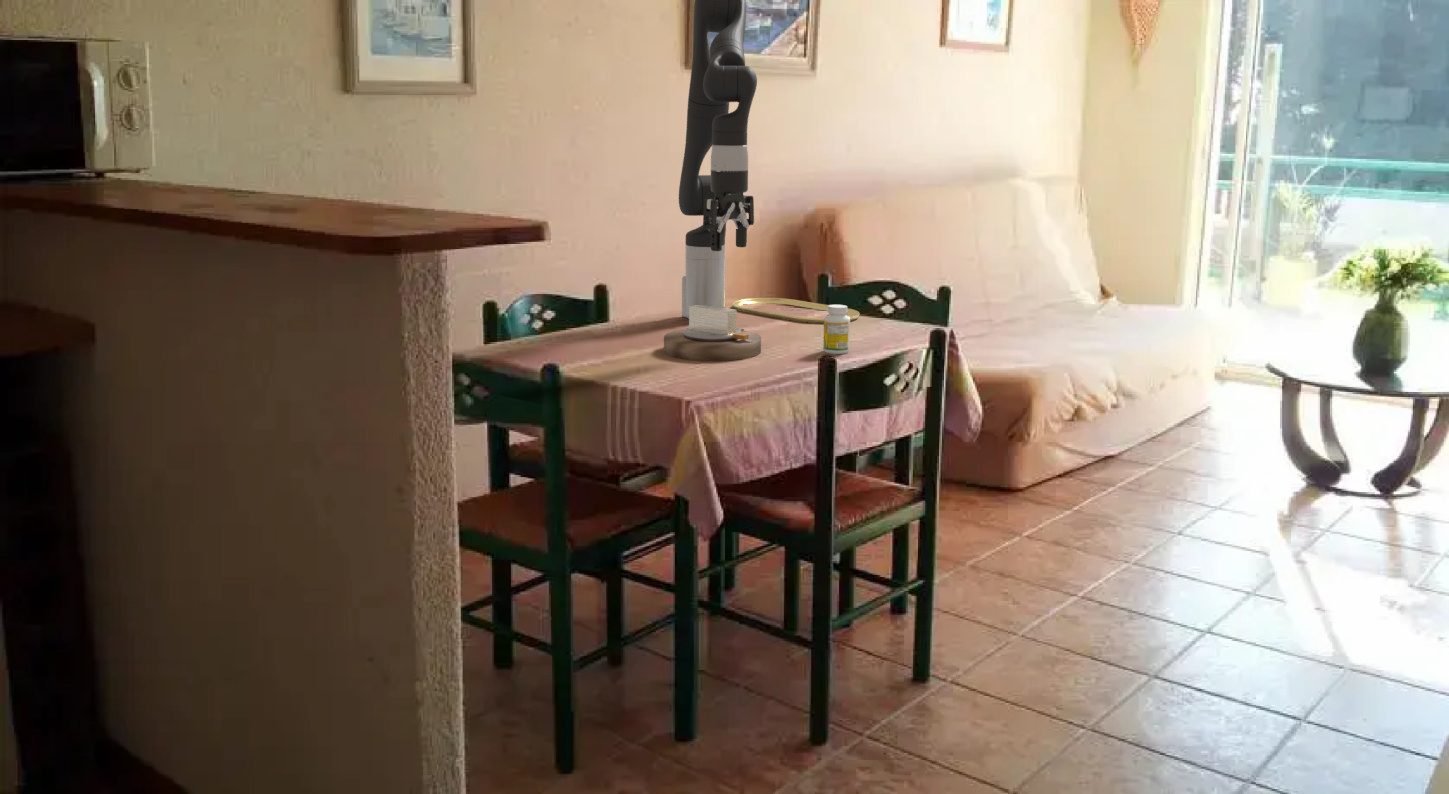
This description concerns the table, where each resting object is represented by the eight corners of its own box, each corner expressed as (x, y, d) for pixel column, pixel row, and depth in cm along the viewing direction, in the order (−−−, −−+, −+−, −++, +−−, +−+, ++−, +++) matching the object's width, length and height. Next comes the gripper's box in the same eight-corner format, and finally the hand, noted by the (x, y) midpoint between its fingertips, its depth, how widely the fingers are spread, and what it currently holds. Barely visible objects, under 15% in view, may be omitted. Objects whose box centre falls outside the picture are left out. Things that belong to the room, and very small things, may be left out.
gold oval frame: (769, 301, 332) (769, 295, 331) (875, 319, 307) (875, 312, 307) (716, 309, 319) (717, 303, 318) (823, 328, 295) (823, 321, 294)
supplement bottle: (844, 355, 263) (845, 308, 261) (819, 353, 265) (820, 306, 263) (852, 350, 268) (854, 305, 266) (828, 348, 270) (829, 303, 268)
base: (644, 352, 264) (643, 336, 264) (704, 338, 280) (704, 323, 279) (720, 365, 252) (720, 348, 252) (779, 349, 268) (780, 334, 267)
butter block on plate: (671, 336, 264) (671, 308, 263) (707, 328, 274) (708, 301, 272) (728, 345, 256) (728, 316, 254) (763, 336, 265) (764, 308, 263)
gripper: (735, 166, 266) (734, 244, 270) (692, 168, 255) (692, 250, 259) (764, 167, 262) (763, 247, 265) (723, 170, 251) (722, 253, 254)
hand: (728, 248), depth 262 cm, fingers open, 8 cm apart
